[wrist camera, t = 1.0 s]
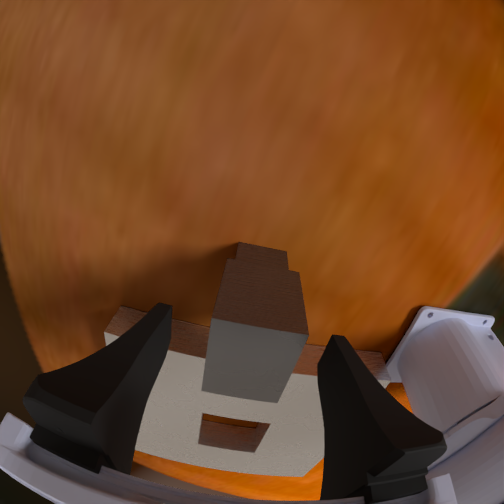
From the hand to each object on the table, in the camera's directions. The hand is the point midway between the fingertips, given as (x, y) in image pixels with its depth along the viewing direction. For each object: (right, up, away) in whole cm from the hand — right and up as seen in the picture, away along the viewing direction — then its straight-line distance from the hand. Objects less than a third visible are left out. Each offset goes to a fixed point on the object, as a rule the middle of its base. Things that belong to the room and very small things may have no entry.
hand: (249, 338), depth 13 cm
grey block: (0, +2, +5) cm, 6 cm away
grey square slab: (-2, -11, +12) cm, 16 cm away
